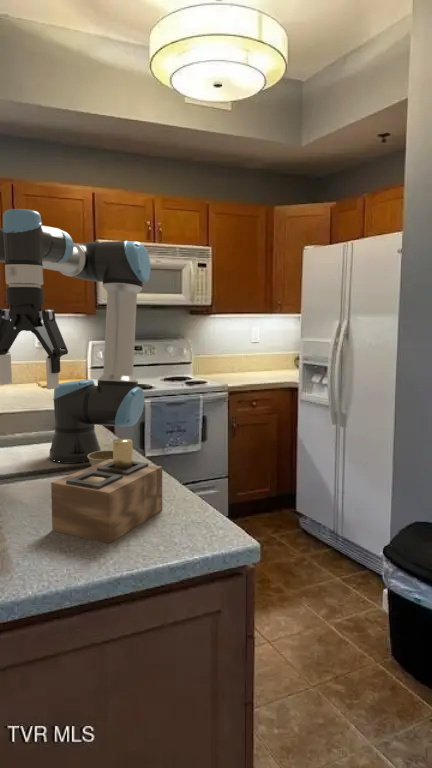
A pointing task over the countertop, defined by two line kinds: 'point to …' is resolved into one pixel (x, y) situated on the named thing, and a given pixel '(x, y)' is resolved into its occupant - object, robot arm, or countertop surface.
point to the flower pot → (100, 456)
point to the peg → (123, 454)
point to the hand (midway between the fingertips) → (28, 386)
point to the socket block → (106, 500)
